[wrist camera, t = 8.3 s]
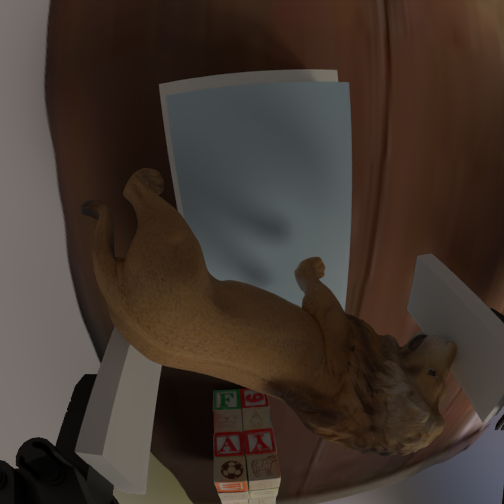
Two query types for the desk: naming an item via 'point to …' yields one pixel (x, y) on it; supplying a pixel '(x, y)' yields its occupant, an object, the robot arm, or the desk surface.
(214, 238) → the two-tone layered slab
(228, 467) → the stack of blocks
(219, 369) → the lion figurine
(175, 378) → the desk surface
